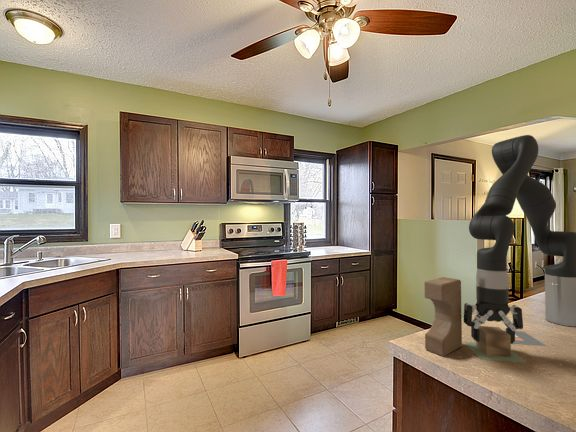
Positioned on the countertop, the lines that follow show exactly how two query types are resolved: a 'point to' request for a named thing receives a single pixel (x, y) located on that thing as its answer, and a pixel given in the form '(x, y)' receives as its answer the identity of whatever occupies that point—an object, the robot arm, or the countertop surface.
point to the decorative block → (444, 315)
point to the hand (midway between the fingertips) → (492, 341)
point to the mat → (482, 355)
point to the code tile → (526, 339)
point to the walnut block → (494, 341)
